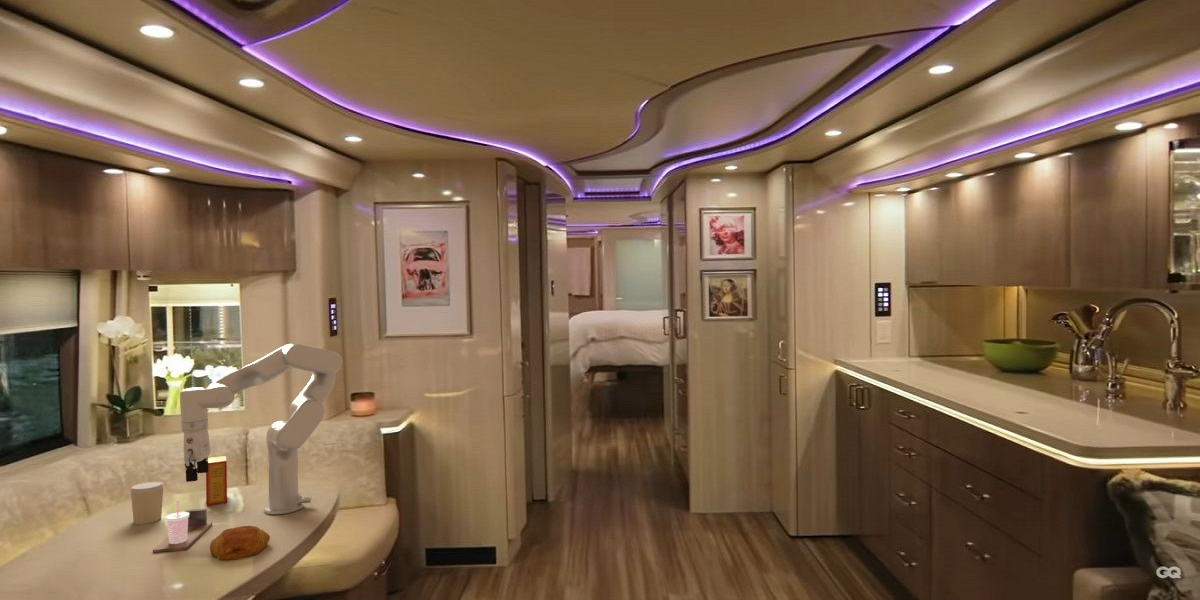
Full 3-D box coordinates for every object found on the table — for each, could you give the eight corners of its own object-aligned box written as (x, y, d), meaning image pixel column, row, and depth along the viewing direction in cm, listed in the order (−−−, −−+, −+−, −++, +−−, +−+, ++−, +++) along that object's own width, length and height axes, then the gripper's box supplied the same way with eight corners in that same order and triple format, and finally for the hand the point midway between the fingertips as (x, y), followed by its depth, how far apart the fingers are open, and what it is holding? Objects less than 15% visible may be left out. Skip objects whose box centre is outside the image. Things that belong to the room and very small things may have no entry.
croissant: (216, 554, 197) (212, 528, 197) (272, 539, 202) (268, 514, 202) (205, 571, 183) (200, 544, 183) (266, 555, 189) (261, 529, 188)
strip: (212, 524, 216) (212, 507, 216) (186, 549, 194) (186, 530, 194) (182, 527, 214) (181, 509, 214) (152, 552, 192) (152, 533, 192)
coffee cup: (170, 515, 225) (170, 481, 225) (149, 525, 216) (149, 489, 216) (145, 515, 226) (145, 481, 226) (123, 524, 217) (123, 488, 217)
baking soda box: (206, 499, 244) (205, 457, 244) (226, 496, 247) (225, 454, 247) (206, 506, 236) (205, 462, 236) (227, 502, 239) (226, 459, 239)
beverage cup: (161, 546, 198) (161, 500, 197) (182, 538, 203) (181, 494, 203) (174, 549, 195) (173, 503, 195) (194, 542, 201) (193, 497, 200)
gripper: (197, 430, 206) (200, 483, 206) (216, 419, 223) (219, 468, 223) (171, 432, 204) (174, 485, 205) (192, 421, 221) (194, 470, 221)
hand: (197, 476), depth 214 cm, fingers open, 9 cm apart
